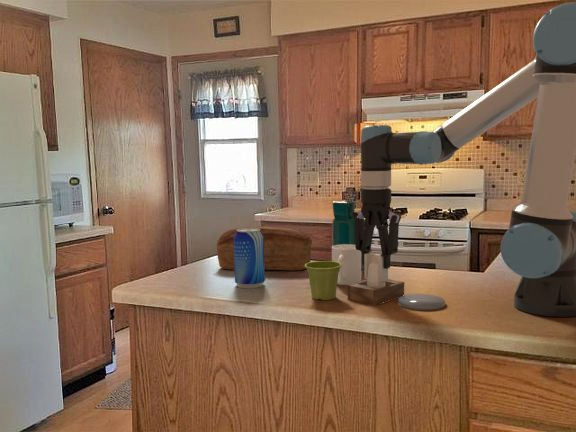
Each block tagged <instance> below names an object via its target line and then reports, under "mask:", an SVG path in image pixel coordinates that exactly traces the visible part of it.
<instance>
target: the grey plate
mask: <svg viewBox="0 0 576 432" xmlns="http://www.w3.org/2000/svg"><path fill="white" fill-rule="evenodd" d="M399 304H400V305H401V306H400V305H399ZM398 305H399V306H400V307H402V306H403V307H402V308H405V309H408V308H409V310H413V311H436V310H440V309H443V308H444V307H445V306H446V300H445V298H443V297H440V296H438V295H434V294H427V293H425V294H424V293H411V294H404V296H401V297H398Z"/></svg>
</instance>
